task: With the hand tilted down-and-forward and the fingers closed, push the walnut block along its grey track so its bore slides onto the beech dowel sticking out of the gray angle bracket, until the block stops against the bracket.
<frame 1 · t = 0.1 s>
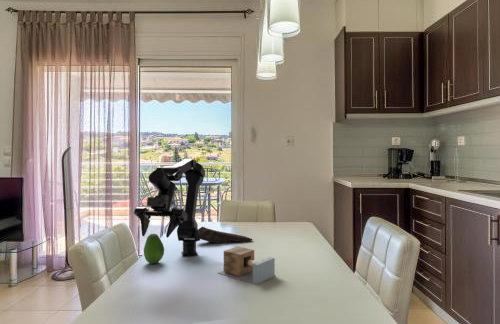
hand: (154, 236, 124), 15 cm above the table, fingers open, 9 cm apart
stone: (224, 242, 176), on the table
fruit: (154, 263, 142), on the table
walnut block: (239, 260, 130), point 4 cm above the table, slide at 0.0 cm
gray angle bracket: (239, 272, 130), on the table
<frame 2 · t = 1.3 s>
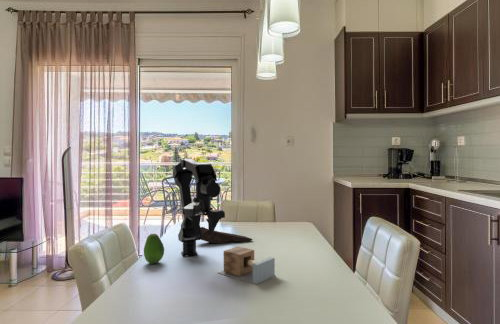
hand: (203, 234, 140), 12 cm above the table, fingers open, 8 cm apart
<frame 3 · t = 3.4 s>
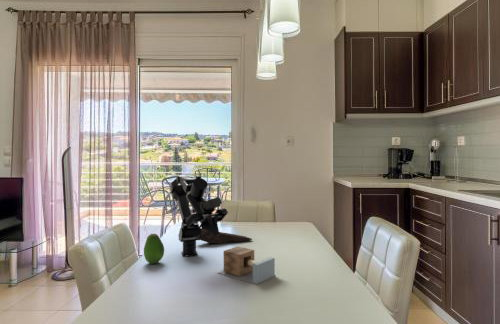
hand: (218, 234, 137), 12 cm above the table, fingers closed
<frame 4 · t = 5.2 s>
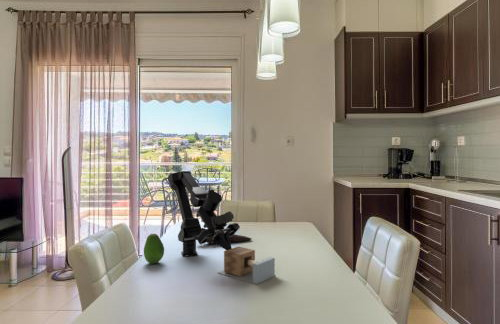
hand: (230, 250, 133), 7 cm above the table, fingers closed, pressing on walnut block
walnut block: (239, 260, 130), point 4 cm above the table, slide at 0.3 cm, touching gripper
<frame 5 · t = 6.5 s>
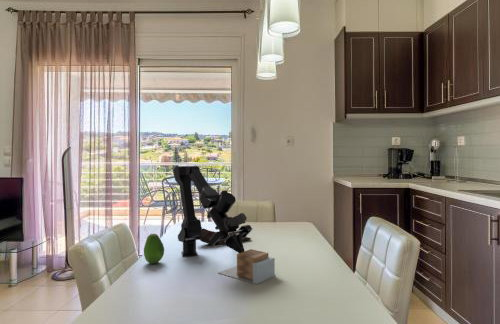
hand: (243, 253, 129), 7 cm above the table, fingers closed, pressing on walnut block
walnut block: (252, 264, 126), point 4 cm above the table, slide at 6.5 cm, touching gray angle bracket, gripper
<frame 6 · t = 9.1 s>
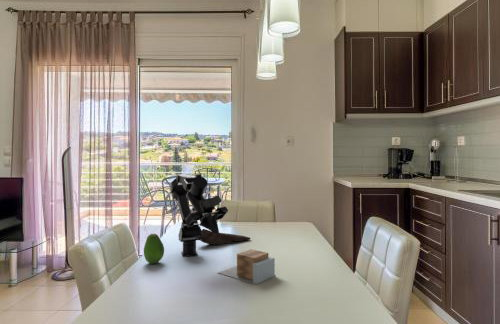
hand: (217, 233, 137), 13 cm above the table, fingers closed
walnut block: (252, 264, 126), point 4 cm above the table, slide at 6.5 cm, touching gray angle bracket
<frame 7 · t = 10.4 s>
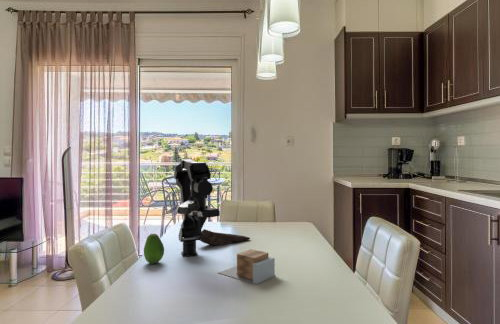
hand: (198, 232, 141), 13 cm above the table, fingers closed
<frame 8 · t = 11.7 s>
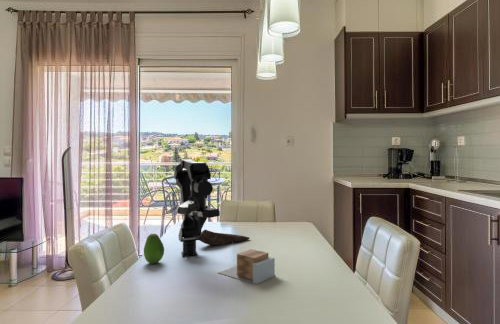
hand: (198, 232, 141), 12 cm above the table, fingers closed
at the end: walnut block slide at 6.5 cm; the gripper is holding nothing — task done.
